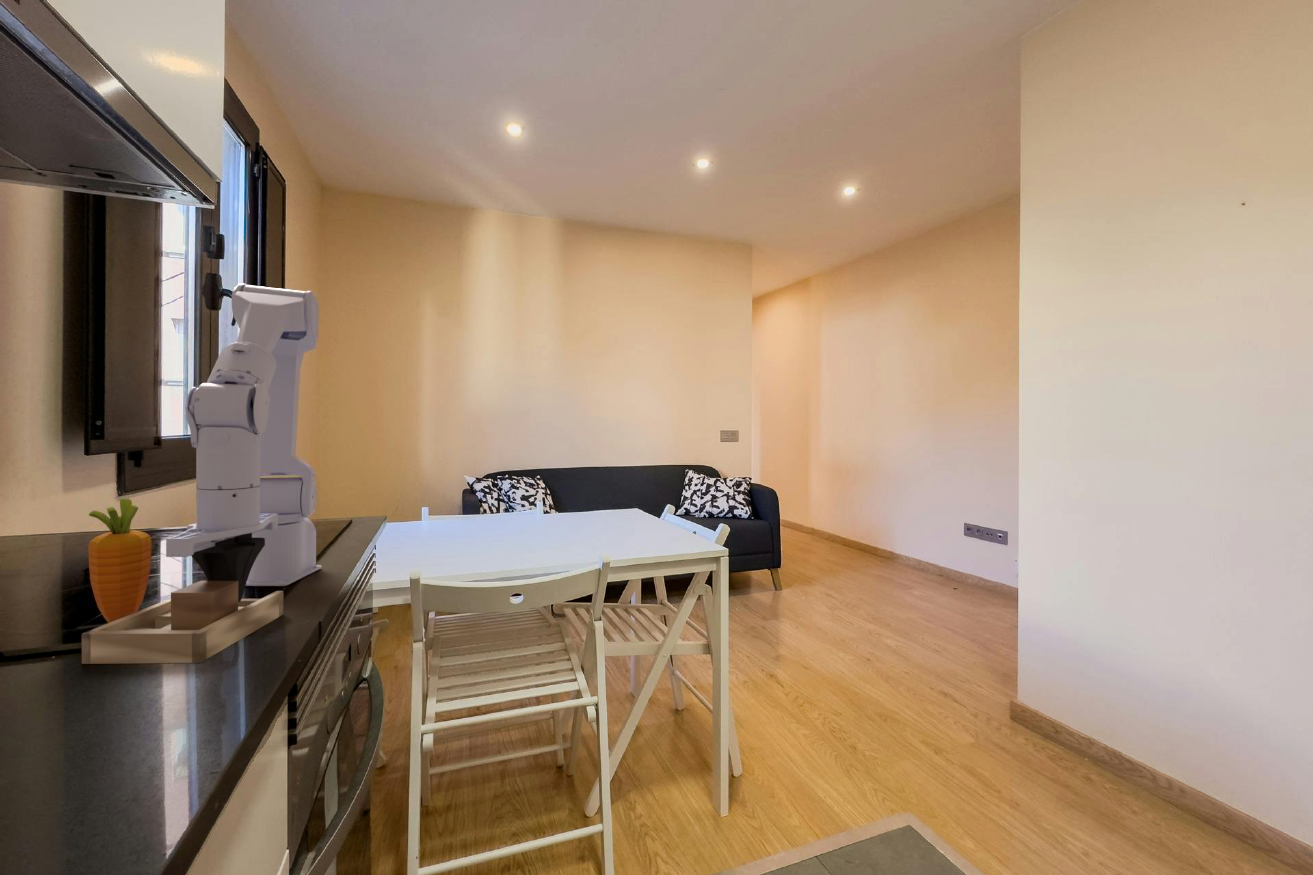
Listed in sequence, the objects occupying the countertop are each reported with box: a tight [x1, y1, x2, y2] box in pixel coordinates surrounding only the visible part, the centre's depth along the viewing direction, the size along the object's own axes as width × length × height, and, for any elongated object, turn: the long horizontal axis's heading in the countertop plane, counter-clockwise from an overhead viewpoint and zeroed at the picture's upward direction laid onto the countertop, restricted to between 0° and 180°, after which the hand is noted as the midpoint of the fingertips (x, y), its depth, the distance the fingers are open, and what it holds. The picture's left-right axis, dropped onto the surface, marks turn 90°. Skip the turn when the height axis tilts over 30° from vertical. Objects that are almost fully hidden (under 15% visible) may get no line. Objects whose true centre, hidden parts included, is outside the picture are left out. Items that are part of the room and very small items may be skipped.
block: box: [170, 580, 238, 630], centre depth 57 cm, size 4×4×4 cm
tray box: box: [81, 590, 284, 665], centre depth 58 cm, size 13×11×3 cm
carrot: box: [87, 498, 153, 624], centre depth 58 cm, size 5×5×15 cm
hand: (228, 602), depth 60 cm, fingers closed
